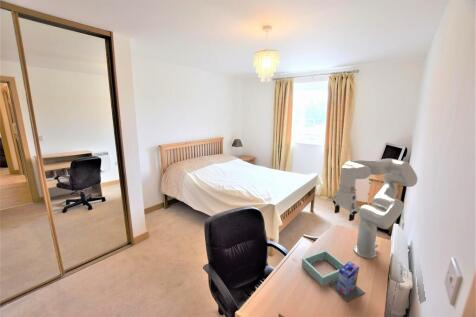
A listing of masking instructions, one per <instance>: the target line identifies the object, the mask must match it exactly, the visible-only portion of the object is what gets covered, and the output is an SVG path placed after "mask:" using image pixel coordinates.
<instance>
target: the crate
mask: <svg viewBox="0 0 476 317" xmlns="http://www.w3.org/2000/svg"><path fill="white" fill-rule="evenodd" d="M324 258H326V259H327V260H328V262H329V264H331V265H332V266H333V267H334V268H336V270H334V271H331V272H329V273H327V274H325V275H322V274H321V272H319V271H318V270H317V269H316V268H315V266H313V265H312V264H314V263H316V262H315V261H317V262H319V261H318V260H320V261H322V260H326V259H324ZM321 259H322V260H321ZM327 260H326V261H327ZM313 262H314V263H313ZM311 263H312V264H311ZM344 265H345V263H343V262H342V261H341V260H340V259H338V258H336V256H334V255H333V254H331V253H330V252H329V251H327V250H326V249H325V250H324V249H323V250H322V251H320V252H319V251H318V252H316V253H313V254H310V255H308V256H304V257H303V258H302V259H301V267H302V268H303V269H305V270H306V272H308V273H309V275H310V276H311V277H312V278H313V279H314V280H316V281H317V283H319V285H320V286H322V285H323V286H326V285H328V284H331V283H333V282H335V281H338V274H339V269H340V268H341V267H342V266H344ZM334 280H335V281H334ZM325 284H326V285H325Z"/></svg>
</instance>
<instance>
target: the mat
mask: <svg viewBox="0 0 476 317" xmlns="http://www.w3.org/2000/svg"><path fill="white" fill-rule="evenodd" d="M337 282H338V280H335V281H332V282H330V283H328V284H329V286H330V287H331V289H333V290H334V291H335V292H336V293H337V294H338V295H339V296H341V297H342V299H344V300H345V301H346V303H348V302H350V301H352V300H355V299H356V298H359V297H360V296H362V295H364V294H365V293H366V291H364V290H363V289H361V288H360V287H359V286H357V285H356V287H355V288H354V289H353V290H352V291H351V292H350V293H348V294H347V295H344V294H343V293H342V292H341V291H339V290H338V289H337Z"/></svg>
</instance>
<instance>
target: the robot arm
mask: <svg viewBox="0 0 476 317" xmlns="http://www.w3.org/2000/svg"><path fill="white" fill-rule="evenodd" d="M371 175H372V176H373V175H374V176H380V175H383V183H382V187H381V189H379V191H378V192H377V193H376V194H375V195H374V196H373V198H371V205H370V204H363V205H361V206H360V207H359V205H357V192H356V191H357V189H356V181H357V180H364V179H367V178H370V176H371ZM417 183H418V176H417V173H416V171H415V170H414V169H413V167H412V165H410V164H409V162H407V161H405V160H399V159H395V158H382V159H381V158H380V159H375V160H373V159H371V160H369V159H366V160H365V159H358V160H350V161H349V160H348V161H346V162H345V163H344V164H343V165H342V166H341V167H340V175H339V186H338V188H337V191H336V192H337V193H336V196H332V197H331V199H332V203H333V206H334V214H338V213H340V208H344V209H346V210H348V211H349V216H348V221H349V222H352V221H354V220H355V215H356V214H358V218H359V224H358V232H357V238H356V239H357V240H356V245H354V246H353V248H352V250H353V252H354V253H355V254H356V255H358V256H359V257H362V258H364V259H370V260H373V259H375V258H376V257H377V252H376V251H375V249H376V248H378V247H379V245H378V244H377V243H376V238H377V233H378V228H380V229H383V230H387V229H388V228H390V227H391V226H392V225H393V224H394V223H395V222H396V220H397V219H398V218H399V217H400V215H401V214H402V213H403V211H404V207H405V206H404V202H403V201H402V200H400V199H398V198H396V197H397V196H398V193H399V191H398V188H397V185H399V186H400V185H401V186H404V187H408V188H411V187H415V186H416V184H417ZM396 184H397V185H396Z"/></svg>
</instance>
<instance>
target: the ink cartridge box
mask: <svg viewBox="0 0 476 317" xmlns="http://www.w3.org/2000/svg"><path fill="white" fill-rule="evenodd" d="M359 270H360V266H359V265H356V264H355V263H353V262H351V261H348V262H346V263H344V266H342V267H341V268H340V269H339V274H338V279H337V281H338V282H337V289H338V290H339V291H341V292H342V293H343V294H344V295H347V294H348V293H350V292H351V291H352V290H353V289H354V288H355V287H356V286H357V281H358V275H359Z"/></svg>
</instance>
